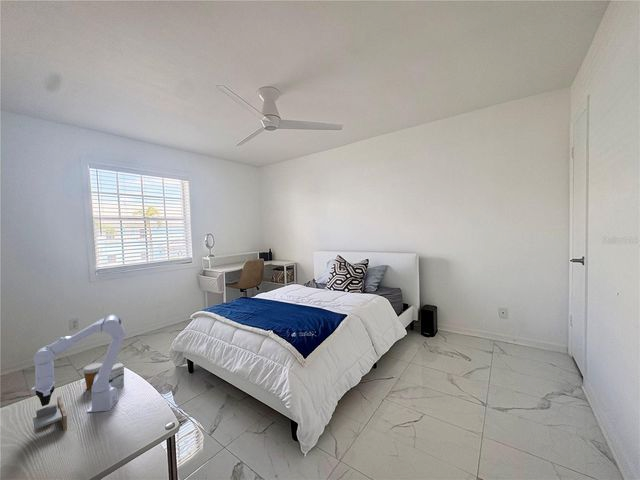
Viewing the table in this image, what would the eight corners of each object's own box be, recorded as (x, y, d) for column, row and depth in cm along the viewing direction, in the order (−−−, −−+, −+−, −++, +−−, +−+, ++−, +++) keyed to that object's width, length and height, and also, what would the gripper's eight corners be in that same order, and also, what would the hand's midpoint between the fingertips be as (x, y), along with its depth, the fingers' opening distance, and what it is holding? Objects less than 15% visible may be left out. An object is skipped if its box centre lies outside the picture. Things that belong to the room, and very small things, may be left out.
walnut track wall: (57, 409, 125) (57, 397, 125) (60, 408, 126) (60, 396, 125) (63, 430, 112) (63, 416, 112) (66, 428, 113) (66, 415, 113)
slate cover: (32, 420, 111) (32, 411, 111) (59, 410, 117) (59, 401, 117) (34, 429, 106) (34, 420, 106) (61, 418, 112) (61, 409, 112)
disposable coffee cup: (109, 384, 146) (109, 363, 145) (88, 393, 137) (88, 371, 137) (99, 380, 150) (99, 359, 149) (79, 389, 141) (78, 367, 141)
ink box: (105, 393, 138) (104, 371, 138) (102, 389, 141) (102, 368, 141) (124, 385, 145) (124, 364, 144) (121, 382, 148) (121, 361, 147)
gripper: (30, 372, 117) (30, 402, 118) (32, 385, 108) (33, 417, 108) (52, 366, 123) (53, 394, 123) (56, 378, 113) (57, 408, 114)
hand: (45, 404), depth 116 cm, fingers closed
